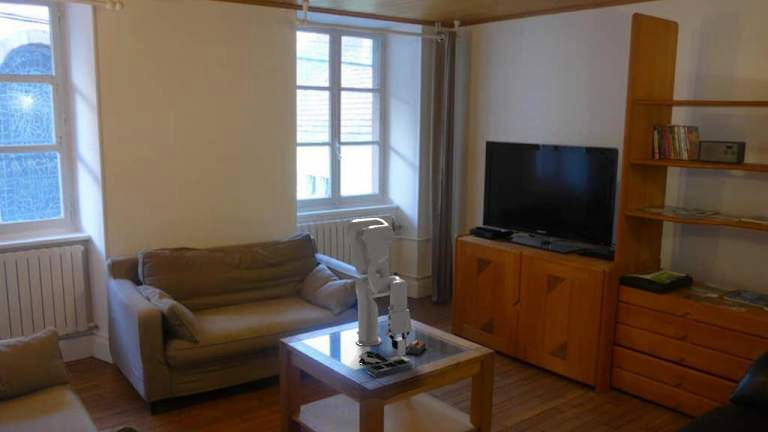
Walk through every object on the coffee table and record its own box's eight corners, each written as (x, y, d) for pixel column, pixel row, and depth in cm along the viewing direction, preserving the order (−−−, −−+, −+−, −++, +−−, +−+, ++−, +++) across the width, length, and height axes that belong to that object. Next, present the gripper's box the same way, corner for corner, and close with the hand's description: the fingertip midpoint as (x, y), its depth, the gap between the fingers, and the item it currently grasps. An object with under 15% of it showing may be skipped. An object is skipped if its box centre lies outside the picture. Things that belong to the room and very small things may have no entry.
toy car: (365, 360, 304) (365, 349, 303) (388, 365, 298) (388, 353, 297) (358, 364, 299) (358, 352, 298) (381, 369, 293) (380, 357, 292)
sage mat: (388, 359, 304) (388, 358, 304) (401, 356, 308) (401, 355, 308) (396, 364, 298) (396, 362, 298) (409, 361, 302) (409, 359, 302)
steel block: (393, 353, 303) (392, 338, 302) (400, 352, 305) (400, 337, 304) (398, 356, 300) (397, 340, 299) (405, 354, 302) (405, 339, 301)
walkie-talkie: (409, 345, 324) (395, 356, 305) (409, 335, 323) (395, 347, 305) (426, 347, 321) (414, 359, 302) (427, 337, 320) (414, 349, 302)
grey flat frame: (376, 377, 282) (376, 372, 282) (366, 371, 289) (366, 366, 289) (411, 369, 292) (411, 363, 291) (401, 363, 298) (401, 358, 298)
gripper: (387, 312, 292) (387, 353, 295) (419, 306, 301) (419, 346, 303) (378, 308, 299) (378, 348, 301) (409, 303, 307) (410, 342, 310)
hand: (399, 347), depth 302 cm, fingers closed on steel block, 4 cm apart
